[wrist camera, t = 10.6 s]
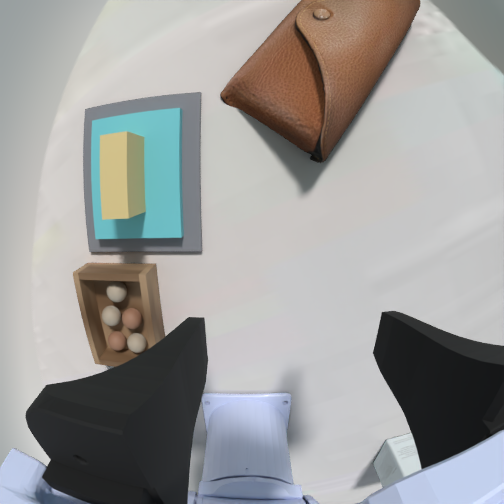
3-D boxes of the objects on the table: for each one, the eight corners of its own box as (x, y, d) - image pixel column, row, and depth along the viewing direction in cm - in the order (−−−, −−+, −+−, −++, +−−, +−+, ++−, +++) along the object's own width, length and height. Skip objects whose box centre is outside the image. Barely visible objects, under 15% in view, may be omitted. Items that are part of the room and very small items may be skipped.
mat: (202, 250, 20) (201, 251, 20) (91, 250, 20) (89, 251, 19) (201, 93, 17) (200, 92, 17) (87, 109, 17) (85, 109, 17)
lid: (183, 235, 19) (170, 248, 16) (100, 236, 19) (74, 249, 16) (182, 110, 17) (168, 96, 13) (97, 122, 17) (69, 114, 13)
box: (168, 354, 22) (161, 372, 20) (105, 348, 22) (95, 363, 20) (155, 263, 20) (145, 274, 18) (87, 262, 20) (72, 272, 18)
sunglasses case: (329, -39, 13) (388, -54, 8) (374, 12, 18) (432, 11, 13) (212, 102, 17) (259, 107, 12) (282, 151, 22) (340, 174, 17)
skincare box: (372, 463, 28) (386, 502, 21) (386, 438, 27) (405, 481, 20) (408, 453, 28) (425, 488, 21) (424, 427, 27) (446, 465, 20)
